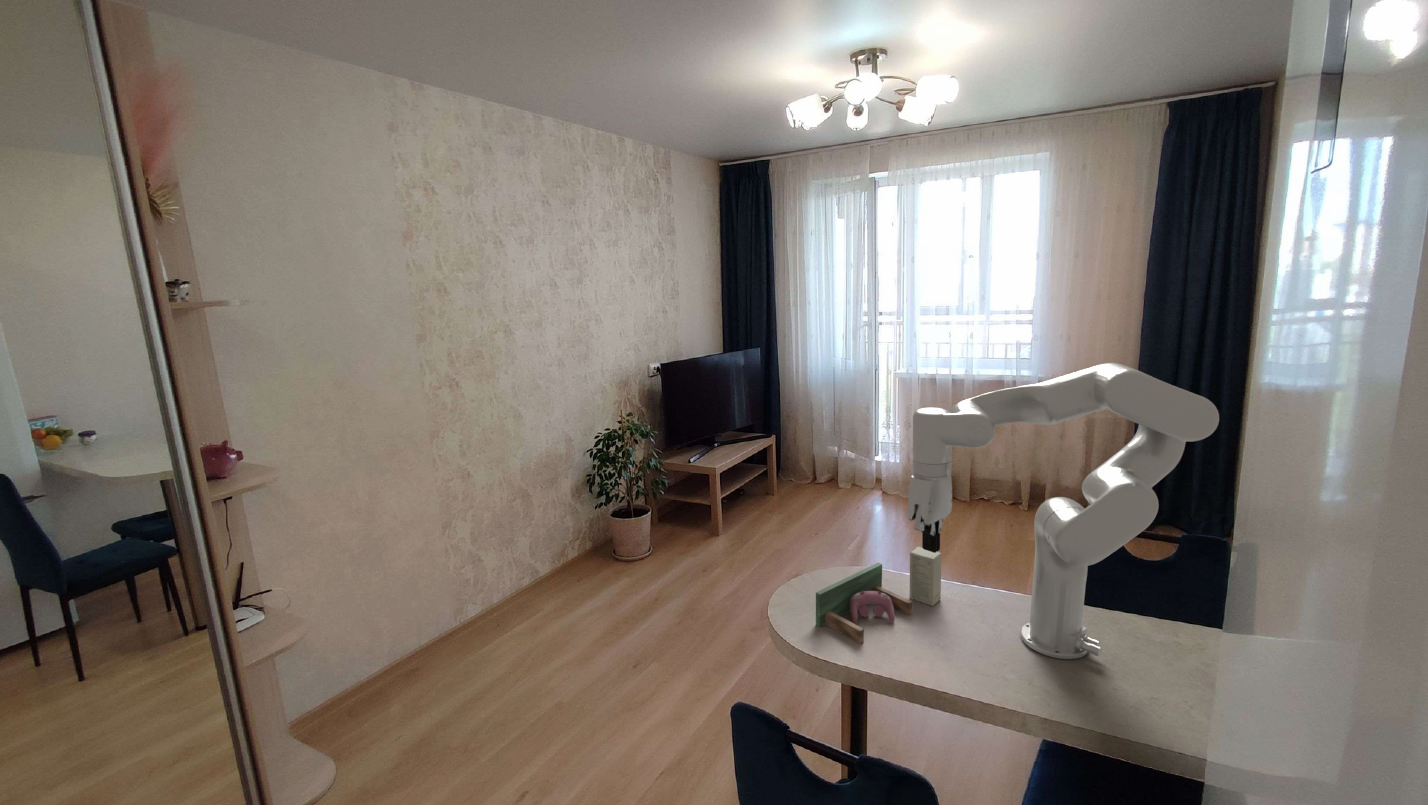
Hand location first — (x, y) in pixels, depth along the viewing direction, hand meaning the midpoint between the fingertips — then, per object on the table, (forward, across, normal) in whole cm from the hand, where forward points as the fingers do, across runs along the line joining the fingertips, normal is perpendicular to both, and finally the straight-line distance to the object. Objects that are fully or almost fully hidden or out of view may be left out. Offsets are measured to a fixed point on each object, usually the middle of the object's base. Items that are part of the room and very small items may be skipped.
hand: (931, 549), depth 134 cm
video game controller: (+20, +4, -12) cm, 23 cm away
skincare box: (+20, -12, -9) cm, 25 cm away
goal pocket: (+19, +5, -12) cm, 23 cm away
